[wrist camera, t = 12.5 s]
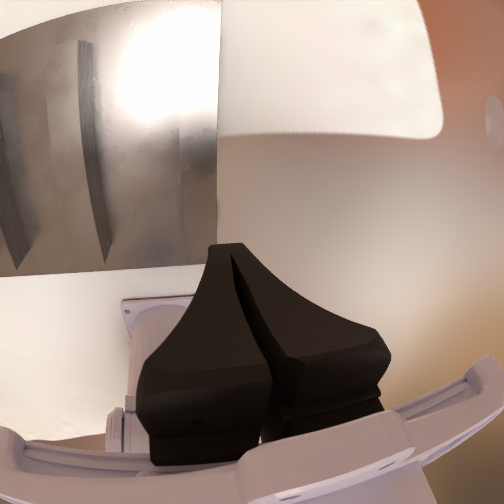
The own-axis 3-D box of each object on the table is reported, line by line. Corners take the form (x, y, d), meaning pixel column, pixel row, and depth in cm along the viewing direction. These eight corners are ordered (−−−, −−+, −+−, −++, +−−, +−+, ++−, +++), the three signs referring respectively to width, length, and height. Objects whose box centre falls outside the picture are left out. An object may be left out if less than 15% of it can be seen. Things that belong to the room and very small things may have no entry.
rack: (216, 258, 24) (221, 286, 21) (-30, 275, 19) (-45, 297, 16) (221, -1, 13) (228, -16, 10) (-74, 83, 8) (-99, 91, 6)
